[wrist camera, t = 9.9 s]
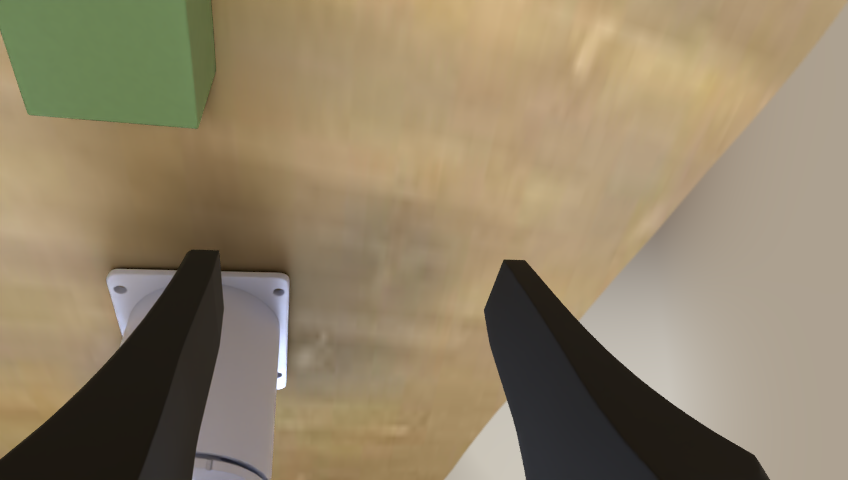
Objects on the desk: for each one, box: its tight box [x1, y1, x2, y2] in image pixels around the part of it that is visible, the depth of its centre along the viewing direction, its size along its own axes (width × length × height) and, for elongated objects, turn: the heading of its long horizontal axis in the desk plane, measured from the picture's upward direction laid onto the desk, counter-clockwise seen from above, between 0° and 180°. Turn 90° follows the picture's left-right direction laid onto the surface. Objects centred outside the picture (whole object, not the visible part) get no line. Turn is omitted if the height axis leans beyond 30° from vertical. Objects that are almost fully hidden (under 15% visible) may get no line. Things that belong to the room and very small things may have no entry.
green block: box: [0, 0, 216, 129], centre depth 15 cm, size 4×4×4 cm
